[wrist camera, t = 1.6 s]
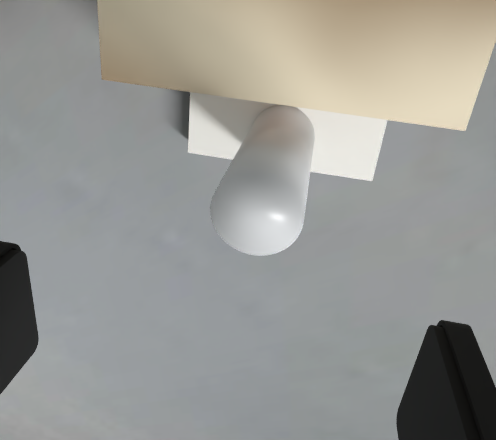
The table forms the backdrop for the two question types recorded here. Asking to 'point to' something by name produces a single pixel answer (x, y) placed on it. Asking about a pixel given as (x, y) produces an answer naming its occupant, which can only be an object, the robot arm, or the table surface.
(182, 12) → the tunnel
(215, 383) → the table surface
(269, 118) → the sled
